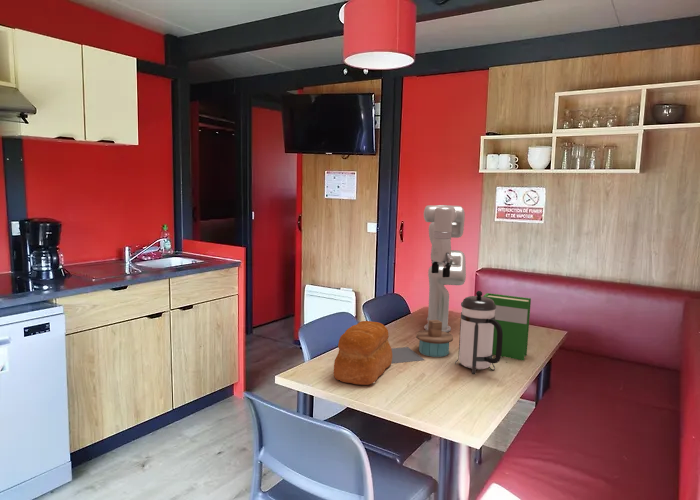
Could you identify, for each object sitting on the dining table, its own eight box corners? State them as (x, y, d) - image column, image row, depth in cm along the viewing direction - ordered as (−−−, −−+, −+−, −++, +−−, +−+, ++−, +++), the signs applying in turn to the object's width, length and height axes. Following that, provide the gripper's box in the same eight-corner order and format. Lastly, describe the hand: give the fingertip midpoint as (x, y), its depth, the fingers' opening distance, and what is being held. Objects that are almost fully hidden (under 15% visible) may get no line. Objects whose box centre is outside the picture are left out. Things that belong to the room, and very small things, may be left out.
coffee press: (450, 372, 179) (455, 293, 175) (458, 358, 194) (462, 285, 190) (499, 380, 172) (505, 298, 168) (503, 365, 187) (508, 289, 183)
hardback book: (526, 355, 200) (530, 298, 196) (523, 360, 193) (528, 302, 190) (483, 347, 208) (487, 293, 205) (479, 352, 201) (483, 296, 198)
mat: (372, 351, 199) (372, 350, 199) (407, 348, 204) (407, 346, 204) (387, 365, 184) (387, 363, 184) (425, 361, 189) (425, 360, 189)
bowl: (414, 349, 203) (414, 334, 202) (439, 347, 207) (440, 332, 206) (427, 359, 192) (428, 343, 191) (454, 356, 195) (454, 341, 195)
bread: (329, 381, 168) (329, 333, 166) (357, 356, 192) (357, 314, 189) (371, 388, 162) (372, 339, 160) (395, 362, 186) (395, 318, 183)
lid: (410, 333, 203) (410, 317, 202) (441, 331, 208) (442, 315, 207) (426, 345, 189) (427, 327, 188) (460, 342, 194) (461, 325, 193)
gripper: (425, 233, 214) (423, 271, 216) (444, 238, 197) (442, 279, 200) (440, 233, 216) (438, 271, 218) (460, 237, 200) (458, 278, 202)
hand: (440, 275), depth 209 cm, fingers open, 9 cm apart
